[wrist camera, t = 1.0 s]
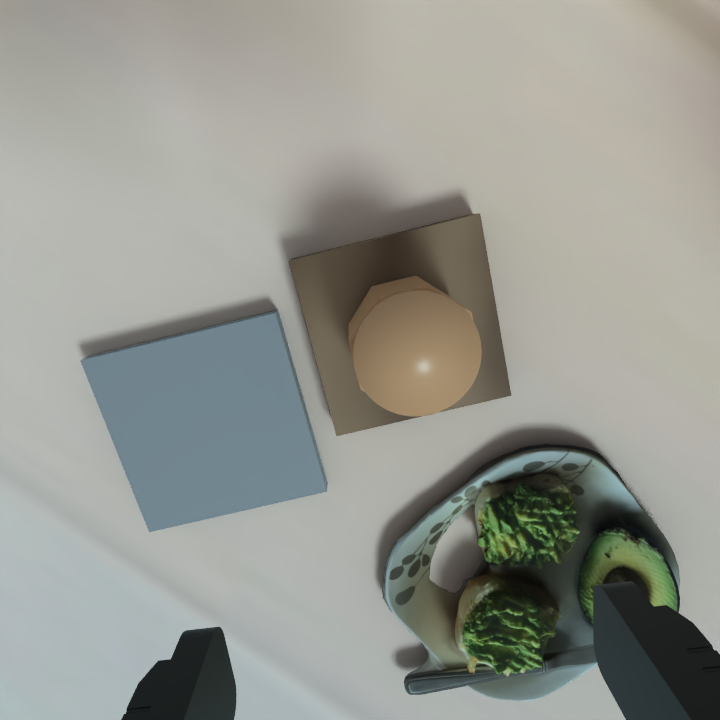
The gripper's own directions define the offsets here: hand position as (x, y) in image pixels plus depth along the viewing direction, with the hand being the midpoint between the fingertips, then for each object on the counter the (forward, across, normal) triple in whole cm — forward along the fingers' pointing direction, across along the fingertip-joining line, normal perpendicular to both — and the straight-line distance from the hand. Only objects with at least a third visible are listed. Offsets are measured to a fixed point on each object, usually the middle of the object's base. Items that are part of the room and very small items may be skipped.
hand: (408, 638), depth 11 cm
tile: (+19, +10, +2) cm, 21 cm away
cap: (+17, -2, -3) cm, 18 cm away
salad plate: (+20, -9, +14) cm, 26 cm away
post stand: (+19, -2, -3) cm, 19 cm away
